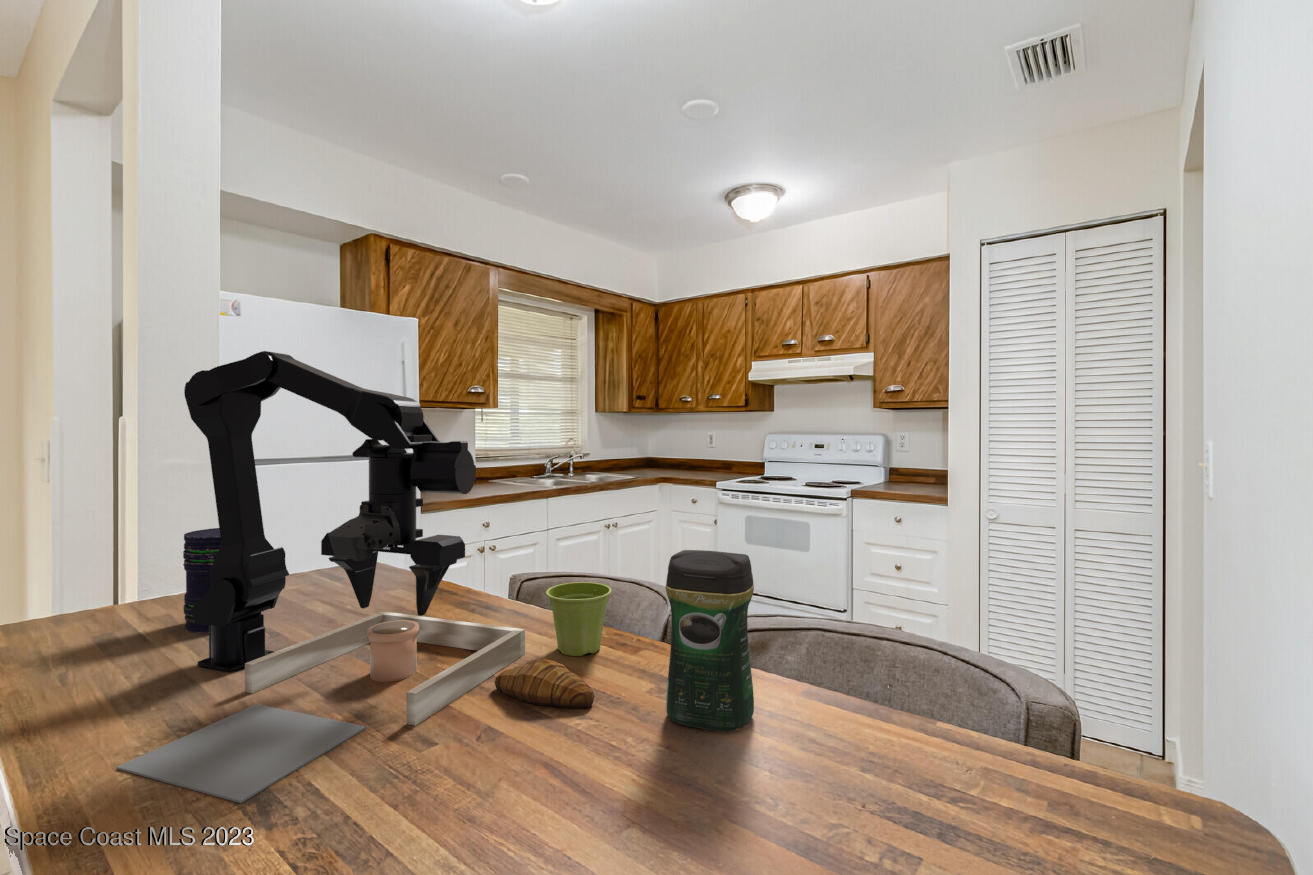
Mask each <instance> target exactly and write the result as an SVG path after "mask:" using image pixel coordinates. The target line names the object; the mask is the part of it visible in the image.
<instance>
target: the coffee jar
mask: <svg viewBox="0 0 1313 875" xmlns="http://www.w3.org/2000/svg"><path fill="white" fill-rule="evenodd" d="M668 562H669V563H668V567H667V575H666V581H665V592H666V596H667V599H668V602H669V606H670V616H671V618H670V619H671V635H670V637H671V638H670V651H669V664H668V673H667V674H668V675H667V683H666V698H665V700H666V701H665V711H666V714H667V717H668V718H669V719H671V721H673V722H674V723H676V724H680V725H684V726H687V727H692V728H698V729H703V730H711V731H717V732H727V733H729V732H734V731H737V730H739V729H742V728H744V727H745V726H747V725H748V724H749V723H750V721H751V720H752V717H753V714H754V711H755V698H754V685H753V684H754V683H753V676H752V675H753V674H752V667H751V666H752V665H751V658H750V647H749V645H750V644H749V635H748V634H749V632H748V631H749V630H748V616H749V615H748V614H749V611H748V610H749V606H750V603H751V600H752V598H753V596H754V591H755V590H754V589H755V584H754V577H753V572H752V568H753V567H752V564H751V563H752V562H751V559H750V557H749V555H748V554H745V553H737V552H726V551H725V552H724V551H715V550H702V549H700V550H699V549H683V550H680V551H678V552H676V553H674V554H673V555H671V556H670V558H669V561H668Z"/></svg>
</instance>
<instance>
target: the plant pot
mask: <svg viewBox="0 0 1313 875" xmlns="http://www.w3.org/2000/svg"><path fill="white" fill-rule="evenodd" d="M612 589H613V588H611V587H610V586H609V585H607V584H605V583H600V582H590V581H589V582H587V581H579V582H578V581H577V582H567V583H561V584H557V585H554V586H551V587H549V588H548V589H547V590H546V591H545V593H546V597H547V598H548V600H549V605H550V607H551V611H552V616H553V622H554V630H555V637H556V644H557V650H558V651H560V652H561V653H562V654H563V655H565V656H570V657H582V656H584V655H586V654H589V653H590V654H595V653H597V652H599V651H600V649H601V643H602V637H603V636H602V635H603V628H604V621H605V614H606V607H607V604H608V602H609V597H610V595H611V594H612Z"/></svg>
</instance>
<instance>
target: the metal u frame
mask: <svg viewBox="0 0 1313 875" xmlns="http://www.w3.org/2000/svg"><path fill="white" fill-rule="evenodd" d="M396 620H409V621H415V622H417V623H418V624H419V634H418V635H417V643H423V644H429V645H436V646H443V647H444V646H445V647H450V648H456V649H457V648H458V649H463V650H464V649H465V650H472V651H476V652H474V653H472V654H470V655H469V656H467V657H466V658H464V659H461V660H460V661H458V662H457V663H455V664H453V665H452V666H449V667H448V668H446V669H444V670H443V671H441V672H438V673H437V674H436V675H434V676H432V677H430V678H429V679H427V680H425V681H424V682H422V683H420V684H418V685H416V686H415V687H413V688H411V689H409V690H408V691H406V725H409V726H414V727H415V726H418V725H419V724H420V723H422V722H424V721H425V720H427V719H428V718H430V717H431V716H433V715H434V714H436V713H438V712H439V711H441V709H443V708H445V707H447V706H449V705H450V704H451V703H453V702H454V701H455V700H457V699H458V698H460V697H462V696H463V695H465V694H466V693H468V692H469V691H471V690H472V689H474V688H475V687H477V686H478V685H480V684H482V683H483V682H484V681H486V680H488V679H489V678H491V677H492V676H493V675H495V674H497V673H498V672H499V671H501V670H502V669H504V668H506V667H507V666H509V665H510V664H512V663H514V662H515V661H516V660H517V659H519V658H521V657H522V656H525V654H526V629H524V628H519V627H518V628H516V627H508V626H502V625H494V624H485V623H478V622H468V621H463V620H462V621H461V620H454V619H453V620H452V619H446V618H445V619H444V618H440V617H432V616H431V617H429V616H425V615H422V616H418V615H414V614H406V613H400V612H391V611H379V612H377V613H374V614H372V615H369V616H367V617H363V618H361V619H358V620H356V621H353V622H351V623H348V624H345V625H343V626H341V627H337V628H335V629H332V630H330V631H327V632H324V633H322V634H319V635H317V636H313V637H311V638H309V639H305V640H304V641H303V640H302V641H301V642H298V643H295V644H293V645H290V646H287V647H285V648H281V649H279V650H277V651H274V653H271V654H269V655H266V656H263V657H261V658H258V659H255V660H253V661H250V662H248V663H245V667H244V692H245V693H247V694H255V693H257V692H260V691H261V690H264V689H266V688H269V687H271V686H273V685H276V684H278V683H280V682H283V681H284V680H285V681H286V680H287V679H289V678H292V677H294V676H296V675H298V674H301V673H303V672H306V671H308V670H311V669H312V668H315V667H318V666H320V665H322V664H324V663H327V662H329V661H331V660H334V659H335V658H338V657H342V656H343V655H345V654H347V653H350V652H352V651H354V650H356V649H357V650H358V649H359V648H361V647H364V646H366V645H369V644H370V641H369V640H368V629H369V628H370V627H372V626H374V625H376V624H379V623H383V622H388V621H396Z"/></svg>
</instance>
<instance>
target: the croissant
mask: <svg viewBox="0 0 1313 875" xmlns="http://www.w3.org/2000/svg"><path fill="white" fill-rule="evenodd" d="M494 686H495V688H496V689H497V690H498V691H499V692H501V693H502V694H504V695H506V696H508V697H511V698H514V699H517V700H519V701H522V702H524V703H528V704H530V705H539V706H549V707H557V708H566V709H567V708H568V709H571V708H572V709H579V708H589V707H592V705H593V704H594V701H595V693H594V692H595V691H594V690H593V689H592V688H591V687H590V686H589V684H588V683H587V682H586V681H585V680H583V679H582V677H580V676H578V675H577V674H576V673H574V672H572V671H570V670H569V669H568V668H567V666H565V665H564V664H562V663H560V662H557V661H555V660H551V659H547V658H540V659H537V660H534V661H531V662H529V663H527V664H526V665H520V666H515V667H513V668H512V667H511V668H508V669H506V670H504V671H501V672H500V673H499V674H497V675H496V676H495V680H494Z"/></svg>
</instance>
